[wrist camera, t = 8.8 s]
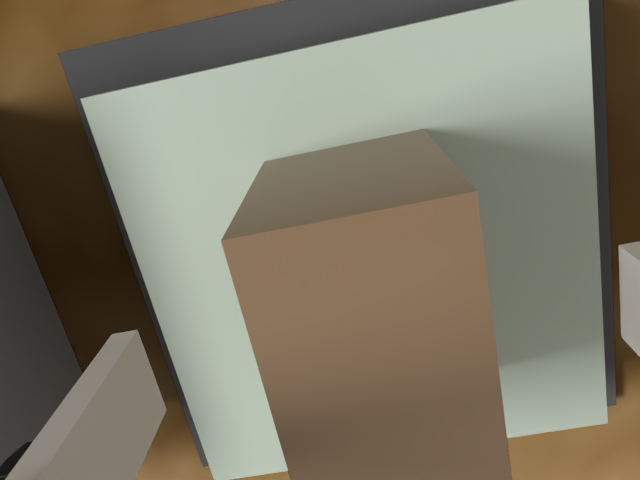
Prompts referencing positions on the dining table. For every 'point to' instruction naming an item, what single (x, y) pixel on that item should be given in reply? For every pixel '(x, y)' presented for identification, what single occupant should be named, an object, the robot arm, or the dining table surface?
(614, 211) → the dining table surface
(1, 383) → the storage box
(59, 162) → the dining table surface
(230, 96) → the block on square base
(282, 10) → the mat
